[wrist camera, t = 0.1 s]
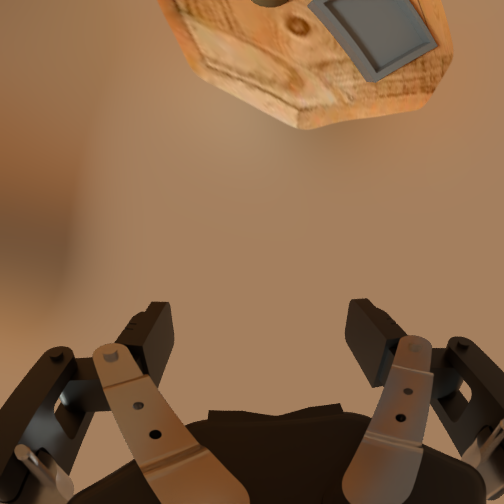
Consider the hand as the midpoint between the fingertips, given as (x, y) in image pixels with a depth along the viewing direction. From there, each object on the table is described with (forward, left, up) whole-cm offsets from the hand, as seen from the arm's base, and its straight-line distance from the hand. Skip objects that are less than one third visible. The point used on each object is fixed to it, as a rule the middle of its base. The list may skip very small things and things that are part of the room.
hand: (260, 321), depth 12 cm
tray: (-4, +27, -31) cm, 41 cm away
